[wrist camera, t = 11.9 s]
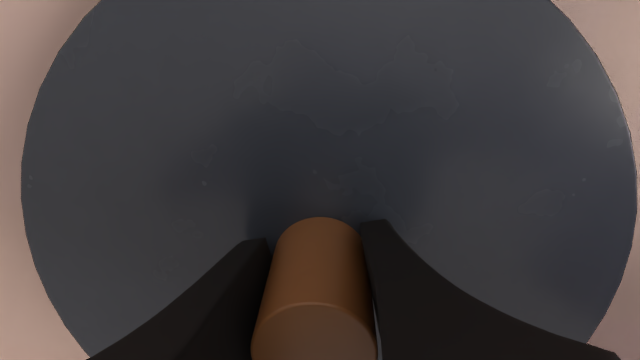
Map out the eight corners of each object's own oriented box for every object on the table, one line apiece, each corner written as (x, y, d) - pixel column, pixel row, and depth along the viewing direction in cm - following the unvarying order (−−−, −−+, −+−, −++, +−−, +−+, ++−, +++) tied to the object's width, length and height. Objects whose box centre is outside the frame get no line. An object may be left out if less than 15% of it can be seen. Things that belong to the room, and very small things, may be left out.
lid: (600, 407, 14) (707, 573, 10) (154, 452, 16) (89, 610, 12) (630, -158, 9) (890, -299, 5) (-60, 2, 11) (-322, 5, 6)
